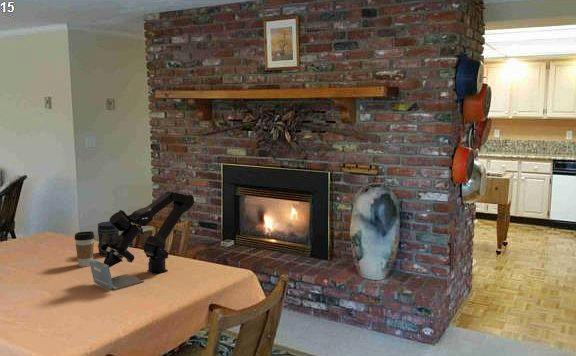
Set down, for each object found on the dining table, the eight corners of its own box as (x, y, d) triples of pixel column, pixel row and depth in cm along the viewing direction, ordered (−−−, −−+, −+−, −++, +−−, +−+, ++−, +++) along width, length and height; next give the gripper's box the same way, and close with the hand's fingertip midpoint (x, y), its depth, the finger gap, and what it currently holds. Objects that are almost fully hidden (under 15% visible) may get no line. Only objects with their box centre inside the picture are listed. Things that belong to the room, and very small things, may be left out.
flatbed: (126, 275, 216) (126, 273, 216) (143, 282, 208) (143, 280, 208) (97, 282, 206) (97, 281, 206) (115, 290, 198) (115, 288, 198)
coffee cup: (88, 268, 225) (87, 235, 223) (71, 266, 227) (70, 234, 225) (99, 262, 233) (98, 230, 231) (82, 261, 235) (81, 229, 233)
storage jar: (104, 250, 254) (103, 220, 252) (123, 251, 253) (122, 221, 251) (94, 255, 244) (93, 225, 242) (113, 256, 243) (112, 226, 241)
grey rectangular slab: (97, 280, 205) (92, 259, 203) (113, 287, 198) (108, 265, 195) (93, 282, 204) (88, 261, 202) (109, 289, 196) (104, 267, 194)
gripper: (101, 222, 208) (76, 254, 201) (126, 229, 196) (101, 263, 189) (119, 238, 215) (95, 269, 208) (144, 245, 203) (120, 279, 196)
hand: (102, 269), depth 200 cm, fingers closed, pressing on grey rectangular slab
